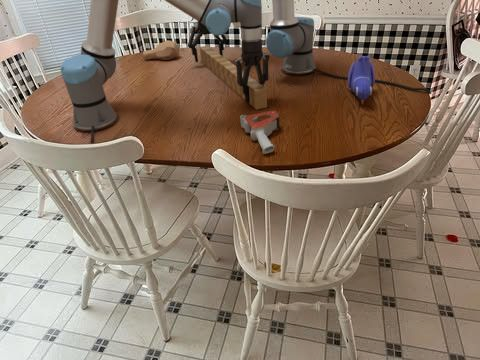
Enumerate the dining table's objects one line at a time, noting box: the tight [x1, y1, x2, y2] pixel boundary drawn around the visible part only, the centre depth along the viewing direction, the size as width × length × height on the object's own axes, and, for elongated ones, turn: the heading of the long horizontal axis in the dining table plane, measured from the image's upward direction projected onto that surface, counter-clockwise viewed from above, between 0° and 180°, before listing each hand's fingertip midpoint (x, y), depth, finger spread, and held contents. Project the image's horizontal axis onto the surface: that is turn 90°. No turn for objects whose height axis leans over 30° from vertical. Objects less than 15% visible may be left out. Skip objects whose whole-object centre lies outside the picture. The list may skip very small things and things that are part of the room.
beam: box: [199, 45, 268, 111], centre depth 159 cm, size 67×5×7 cm, turn 23°
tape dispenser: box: [239, 110, 280, 155], centre depth 117 cm, size 18×5×20 cm
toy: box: [347, 55, 376, 106], centre depth 135 cm, size 10×17×25 cm
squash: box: [142, 39, 180, 61], centre depth 190 cm, size 11×20×9 cm, turn 92°
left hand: (253, 100), depth 141 cm, fingers closed on beam, 5 cm apart
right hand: (209, 59), depth 179 cm, fingers open, 12 cm apart
